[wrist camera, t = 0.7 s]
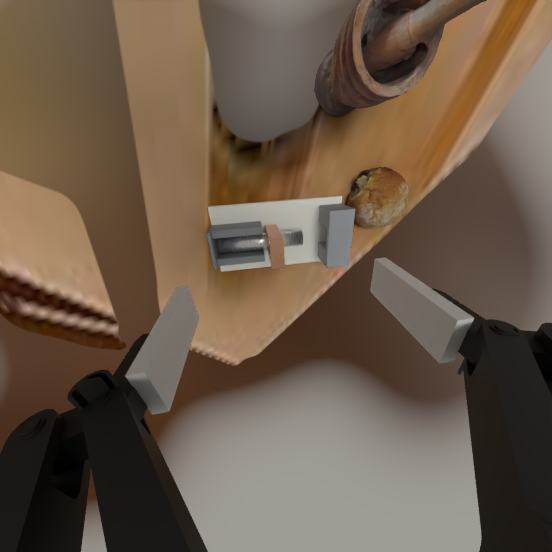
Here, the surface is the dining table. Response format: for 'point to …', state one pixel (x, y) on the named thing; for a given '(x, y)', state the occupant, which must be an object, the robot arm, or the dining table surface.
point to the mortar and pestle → (382, 51)
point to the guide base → (287, 216)
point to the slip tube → (264, 243)
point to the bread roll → (378, 197)
